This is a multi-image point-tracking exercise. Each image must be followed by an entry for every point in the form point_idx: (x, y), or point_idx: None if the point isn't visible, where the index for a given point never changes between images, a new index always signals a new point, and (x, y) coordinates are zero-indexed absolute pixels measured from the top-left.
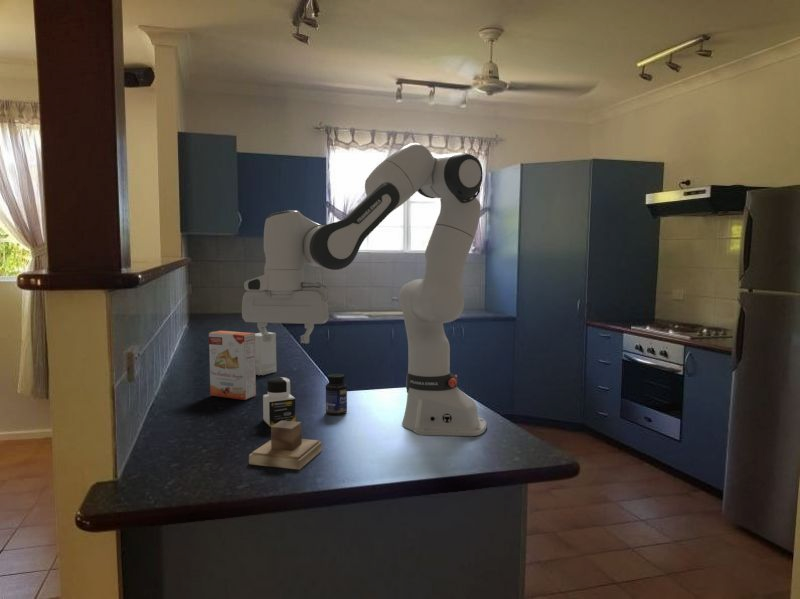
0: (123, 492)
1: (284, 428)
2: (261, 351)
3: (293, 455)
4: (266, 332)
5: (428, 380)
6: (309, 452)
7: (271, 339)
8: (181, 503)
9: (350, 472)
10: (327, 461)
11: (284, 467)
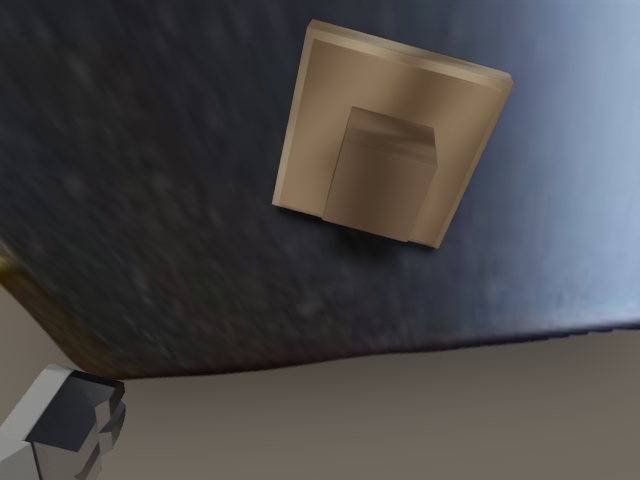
0: (81, 315)
1: (377, 234)
2: None
3: (416, 232)
4: (14, 475)
5: None
6: (465, 188)
7: (115, 395)
8: (220, 360)
9: (588, 255)
10: (524, 175)
11: None
